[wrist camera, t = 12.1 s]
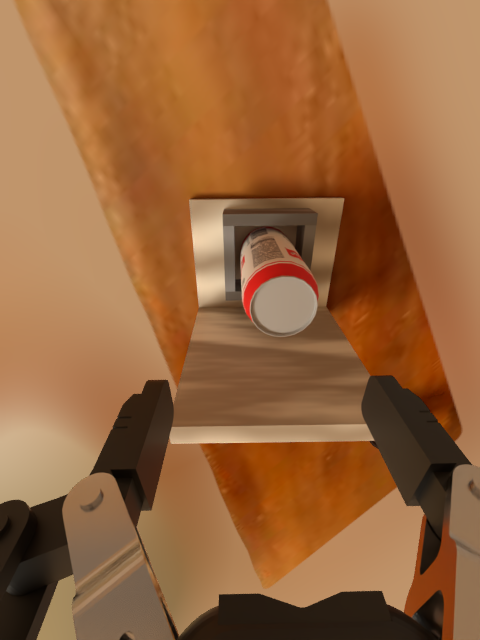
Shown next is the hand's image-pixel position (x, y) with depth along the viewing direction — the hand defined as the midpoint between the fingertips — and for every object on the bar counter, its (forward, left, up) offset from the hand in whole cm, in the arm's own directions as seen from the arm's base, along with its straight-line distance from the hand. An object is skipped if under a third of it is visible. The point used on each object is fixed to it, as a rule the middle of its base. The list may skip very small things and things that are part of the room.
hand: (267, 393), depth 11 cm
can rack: (+3, +2, -27) cm, 27 cm away
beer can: (+1, +2, -26) cm, 26 cm away
